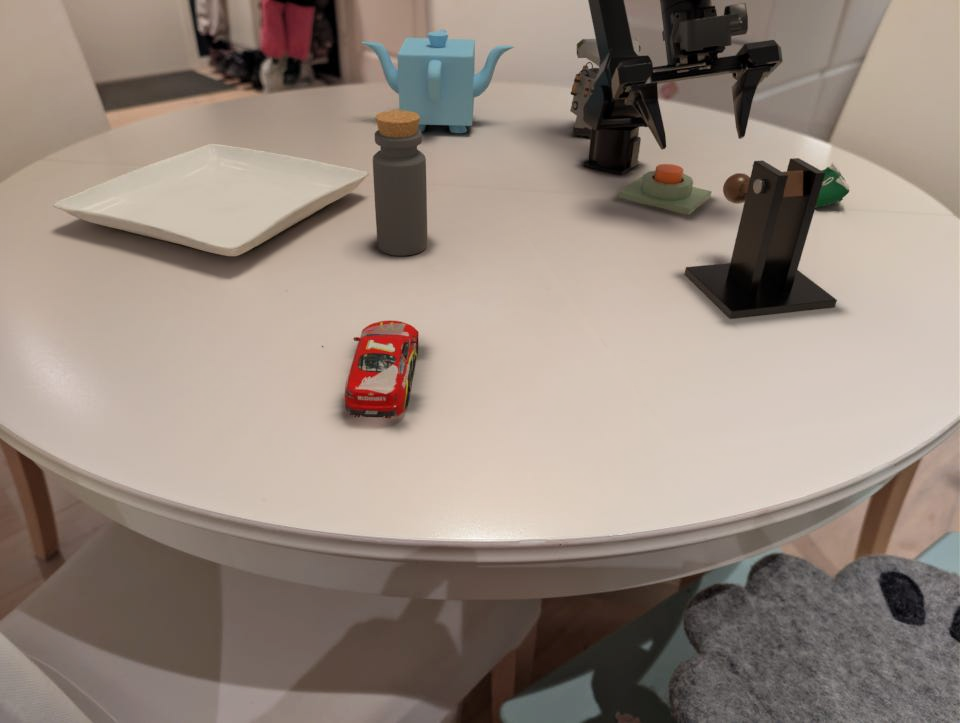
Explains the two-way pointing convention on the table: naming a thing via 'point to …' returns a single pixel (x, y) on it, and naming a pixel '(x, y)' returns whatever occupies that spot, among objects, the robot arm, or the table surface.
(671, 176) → the button
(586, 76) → the figurine
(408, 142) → the bottle
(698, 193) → the button block
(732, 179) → the lever
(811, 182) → the bracket
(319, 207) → the square plate
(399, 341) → the race car
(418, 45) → the teakettle
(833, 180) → the green carton
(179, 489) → the table surface
